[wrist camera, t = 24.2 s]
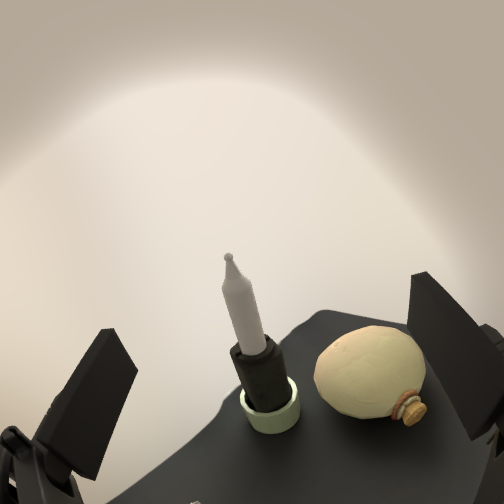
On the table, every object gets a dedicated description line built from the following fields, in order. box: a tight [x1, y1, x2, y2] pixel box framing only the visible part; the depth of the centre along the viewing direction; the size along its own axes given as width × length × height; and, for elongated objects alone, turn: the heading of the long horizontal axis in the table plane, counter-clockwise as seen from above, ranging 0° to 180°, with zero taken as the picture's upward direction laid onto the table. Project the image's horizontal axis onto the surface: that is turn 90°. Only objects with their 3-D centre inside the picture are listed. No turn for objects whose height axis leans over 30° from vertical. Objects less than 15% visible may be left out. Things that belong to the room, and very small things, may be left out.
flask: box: [314, 326, 427, 427], centre depth 32 cm, size 9×16×18 cm
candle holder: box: [240, 377, 300, 434], centre depth 35 cm, size 8×8×5 cm
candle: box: [222, 253, 292, 413], centre depth 31 cm, size 5×5×25 cm
